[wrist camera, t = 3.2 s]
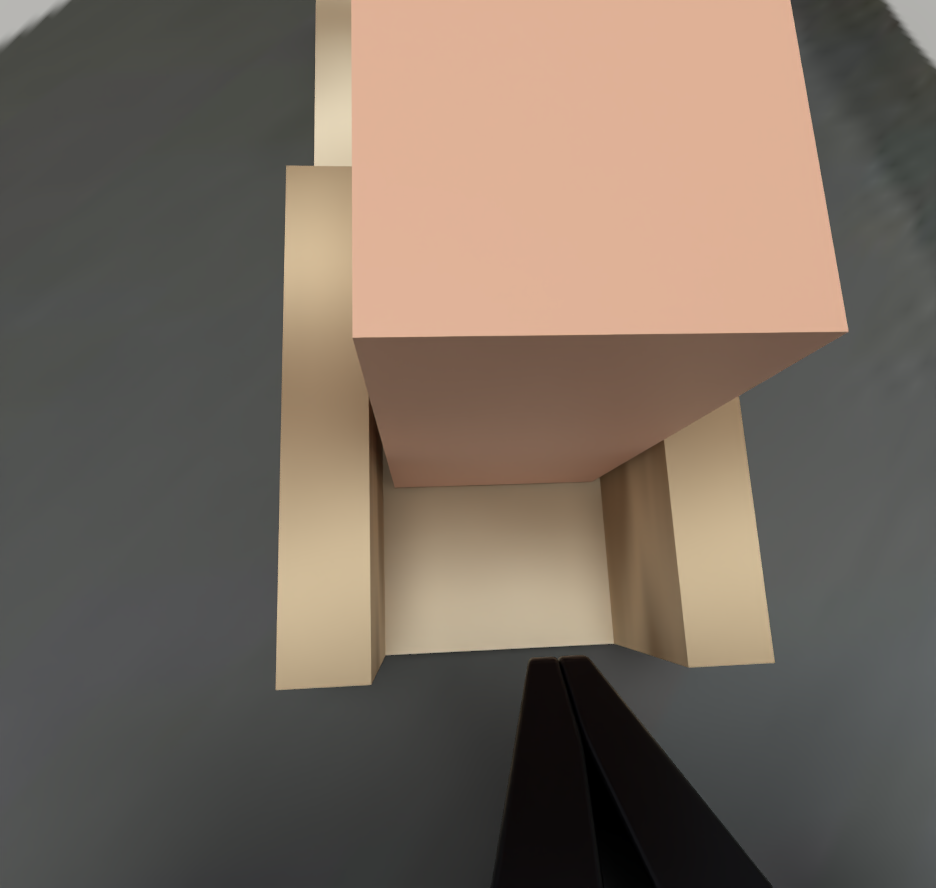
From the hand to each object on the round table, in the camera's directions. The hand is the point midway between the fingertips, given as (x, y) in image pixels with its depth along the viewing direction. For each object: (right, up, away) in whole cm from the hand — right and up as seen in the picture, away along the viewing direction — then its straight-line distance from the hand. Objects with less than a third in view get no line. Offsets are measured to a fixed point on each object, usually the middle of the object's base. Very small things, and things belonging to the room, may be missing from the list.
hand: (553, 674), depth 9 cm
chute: (-1, +7, +9) cm, 12 cm away
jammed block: (-1, +5, +8) cm, 9 cm away
